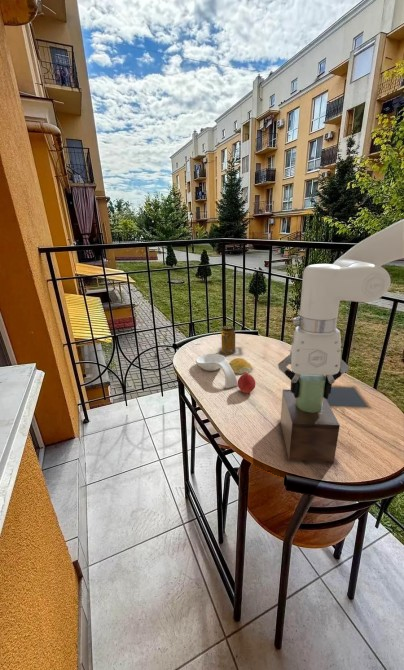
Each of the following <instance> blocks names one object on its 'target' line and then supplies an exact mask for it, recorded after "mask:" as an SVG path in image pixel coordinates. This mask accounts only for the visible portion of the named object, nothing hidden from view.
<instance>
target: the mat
mask: <svg viewBox="0 0 404 670" xmlns="http://www.w3.org/2000/svg"><path fill="white" fill-rule="evenodd" d="M326 400H327V402H328V404H329V405H330V407H349V408H350V407H353V408H368V406H367V404H366V402H365V401H364V399H363V398H362V397H361V396H360V394H359V392H358V391H357V390H356V389H355V387H344V386H343V387H342V386H332V387H331V393H330V394H329V395H328V399H326Z"/></svg>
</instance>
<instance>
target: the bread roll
mask: <svg viewBox="0 0 404 670" xmlns="http://www.w3.org/2000/svg"><path fill="white" fill-rule="evenodd" d="M228 363H229V365H230V366H231V368H232V370H233V372H234V374H241V375H242V374H245V373H246V372H248V373H250V371H251V369H252V366H251V363H249V362H248V361H247V360H245V359H244V358H241V357H236V358H233V359H231V360H230V361H229V362H228Z"/></svg>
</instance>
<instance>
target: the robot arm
mask: <svg viewBox="0 0 404 670" xmlns="http://www.w3.org/2000/svg"><path fill="white" fill-rule="evenodd" d="M401 259H404V218H403V219H400V220H399V221H396V222H394V223H393V224H391V225H389V226H387V227H385V228H383V229H381V230H380V231H378V232H375V233H374V234H372V235H370V236H368V237H366V238H365V239H363V240H361V241H359V242H358V243H356V244H355V245H354V246H352V247H351V248H350V249H348V250H347V251H346V252H345V253H343V254H342V255H341V256H340V257H339V258H337V259H336V260H335V261H334V262H333V263H315V264H310V265H307V266H306V267H305V268H304V269H303V271H302V283H301V295H300V306H299V313H298V316H297V317H294V318H291V319H292V321H291V322H292V323H291V324H292V325H296V327H295V329H294V332H293V335H292V340H291V345H290V350H289V354H288V355H287V356H286V357H285V358H284V359H282V360H281V361H280V362H279V363H277V367H278V369H279V370H280V371H281V372H282V373H283V374H285V376H286V377H287V378H288V379H289V380H290V390H291V393H293V394H294V397H295V398H297V397H298V394H299V382H298V379H299V377H300V376H301V375H325V377H326V381H325V389H324V398H325V399H328V395H329V394H330V393H331V387H333V384H334V383H335V381H336V380H338V379H339V378H340V377H341V376H342V375H343V374H345V373H347V372H348V371H349V370H350V366H349V365H348V364H347V363H346V362H345V361H344V360H343V359H342V337H341V331H340V329H338V327H337V324H338V318H339V309H340V302H342V301H346V302H347V301H348V302H355V303H367V302H368V303H370V302H374V301H376V300H379V299H380V298H382V297H383V296H384V295H386V293H387V292H388V291H389V289H390V287H391V275H390V274H389V272H388V270H386V269H385V267H383V266H384V265H386V264H389V263H392V262H395V261H397V260H401ZM289 365H290V368H291V369H290V368H288V366H289Z"/></svg>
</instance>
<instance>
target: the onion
mask: <svg viewBox="0 0 404 670" xmlns="http://www.w3.org/2000/svg"><path fill="white" fill-rule="evenodd" d="M237 383H238V385H237V387H238V389H239V390H240V392H242V393H244V394H249V393H251V392H253V391H254V390H255V388H256V380H255V378H254V377H253V376H252V375H251V374H249V372H246V373H242V374H241V375H240V377H239V378H238V379H237Z"/></svg>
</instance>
